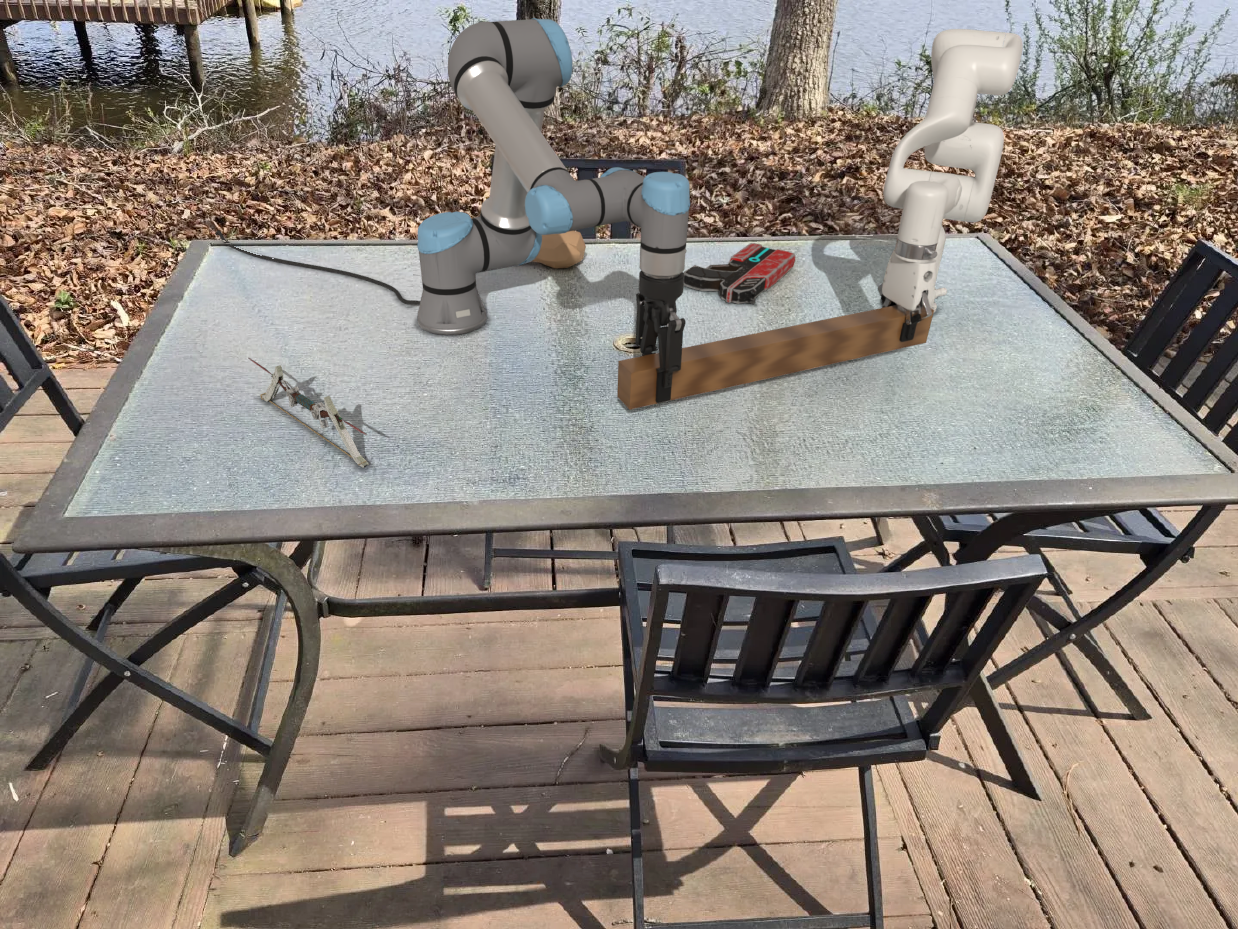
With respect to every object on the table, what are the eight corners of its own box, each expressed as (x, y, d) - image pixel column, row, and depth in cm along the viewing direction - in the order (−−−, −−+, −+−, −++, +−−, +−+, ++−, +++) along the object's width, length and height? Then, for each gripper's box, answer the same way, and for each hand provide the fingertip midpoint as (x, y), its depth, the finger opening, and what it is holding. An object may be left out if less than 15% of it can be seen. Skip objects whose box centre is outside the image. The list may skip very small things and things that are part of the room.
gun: (678, 273, 212) (751, 292, 205) (732, 235, 234) (800, 251, 226) (676, 290, 215) (749, 310, 207) (730, 251, 237) (797, 268, 229)
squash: (587, 272, 224) (582, 240, 218) (510, 279, 226) (503, 248, 219) (588, 250, 232) (584, 219, 226) (514, 257, 233) (507, 226, 227)
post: (629, 409, 154) (631, 373, 150) (617, 397, 158) (618, 360, 154) (926, 342, 181) (934, 309, 177) (909, 333, 184) (917, 300, 180)
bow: (378, 470, 147) (371, 419, 141) (369, 475, 146) (361, 423, 140) (261, 391, 168) (250, 343, 163) (252, 394, 167) (241, 347, 162)
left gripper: (709, 287, 140) (698, 412, 153) (656, 249, 153) (650, 368, 166) (668, 294, 137) (660, 421, 150) (617, 255, 151) (614, 375, 164)
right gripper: (962, 260, 164) (939, 348, 174) (900, 232, 177) (883, 315, 187) (931, 266, 161) (910, 355, 171) (871, 236, 174) (855, 321, 184)
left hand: (655, 393), depth 158 cm, fingers closed on post, 5 cm apart
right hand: (896, 333), depth 179 cm, fingers closed on post, 5 cm apart
